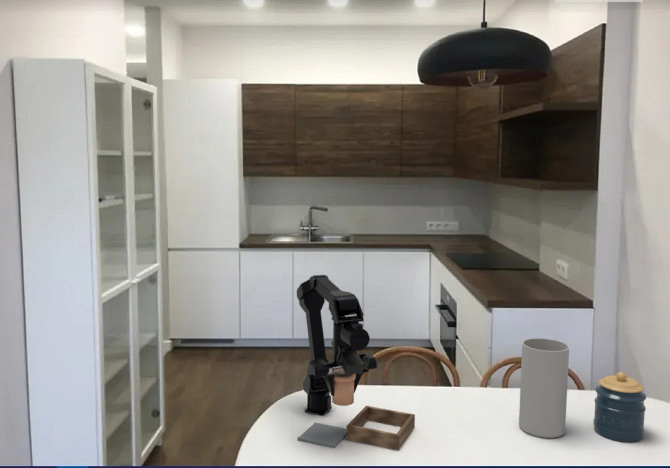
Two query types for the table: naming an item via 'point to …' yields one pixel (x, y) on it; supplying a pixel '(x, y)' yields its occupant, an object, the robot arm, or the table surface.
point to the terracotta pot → (343, 388)
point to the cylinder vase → (543, 387)
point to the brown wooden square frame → (376, 436)
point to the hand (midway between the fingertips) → (342, 394)
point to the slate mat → (323, 435)
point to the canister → (619, 408)
